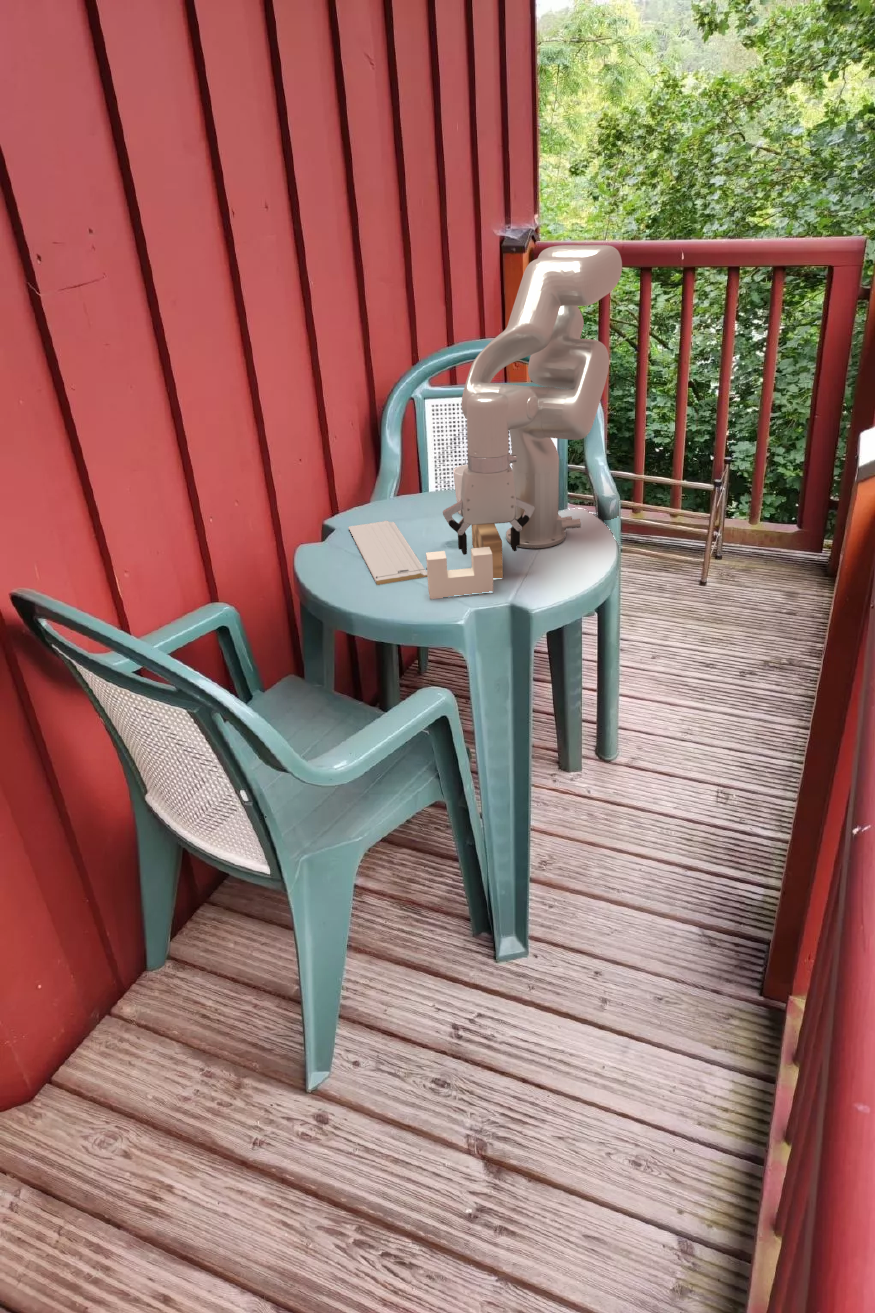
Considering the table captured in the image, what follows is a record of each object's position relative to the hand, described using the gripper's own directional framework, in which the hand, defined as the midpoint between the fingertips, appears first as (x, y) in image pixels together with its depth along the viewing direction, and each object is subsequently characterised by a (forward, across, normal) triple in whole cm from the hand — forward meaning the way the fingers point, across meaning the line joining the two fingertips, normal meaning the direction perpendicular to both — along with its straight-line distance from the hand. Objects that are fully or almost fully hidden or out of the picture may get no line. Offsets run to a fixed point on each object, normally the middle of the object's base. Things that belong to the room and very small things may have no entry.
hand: (489, 550), depth 173 cm
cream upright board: (+6, +6, +5) cm, 10 cm away
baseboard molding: (+6, +18, -18) cm, 27 cm away
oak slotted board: (+6, -1, -8) cm, 10 cm away
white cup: (+5, -2, -37) cm, 37 cm away
